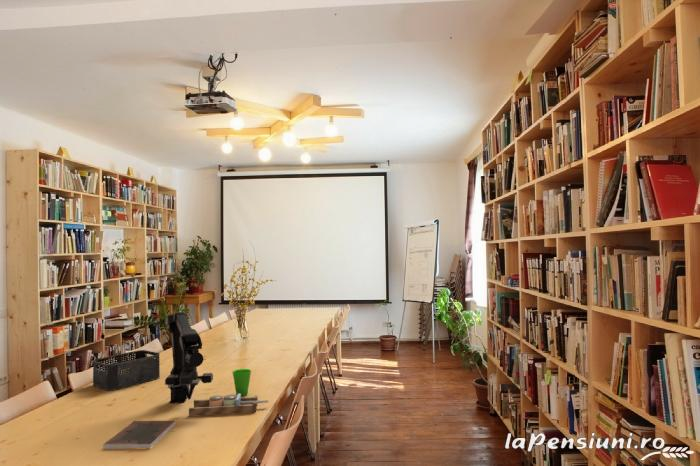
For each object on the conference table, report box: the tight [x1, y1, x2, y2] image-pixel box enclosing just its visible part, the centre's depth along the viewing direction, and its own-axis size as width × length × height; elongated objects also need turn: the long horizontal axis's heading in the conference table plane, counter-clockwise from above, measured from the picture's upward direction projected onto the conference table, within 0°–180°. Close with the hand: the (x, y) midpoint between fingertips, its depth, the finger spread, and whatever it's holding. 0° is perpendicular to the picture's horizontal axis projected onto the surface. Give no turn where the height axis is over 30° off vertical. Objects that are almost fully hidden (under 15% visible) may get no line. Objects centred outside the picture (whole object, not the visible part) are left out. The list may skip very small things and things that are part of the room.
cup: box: [231, 368, 252, 397], centre depth 215 cm, size 9×9×11 cm
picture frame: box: [102, 420, 177, 450], centre depth 167 cm, size 16×2×22 cm
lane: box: [188, 395, 259, 417], centre depth 194 cm, size 27×11×4 cm, turn 98°
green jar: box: [223, 394, 237, 406], centre depth 195 cm, size 6×6×5 cm
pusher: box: [236, 394, 269, 405], centre depth 196 cm, size 13×8×5 cm, turn 98°
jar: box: [209, 394, 224, 407], centre depth 194 cm, size 6×6×5 cm
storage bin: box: [92, 349, 161, 392], centre depth 239 cm, size 29×19×13 cm
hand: (189, 399), depth 192 cm, fingers closed
